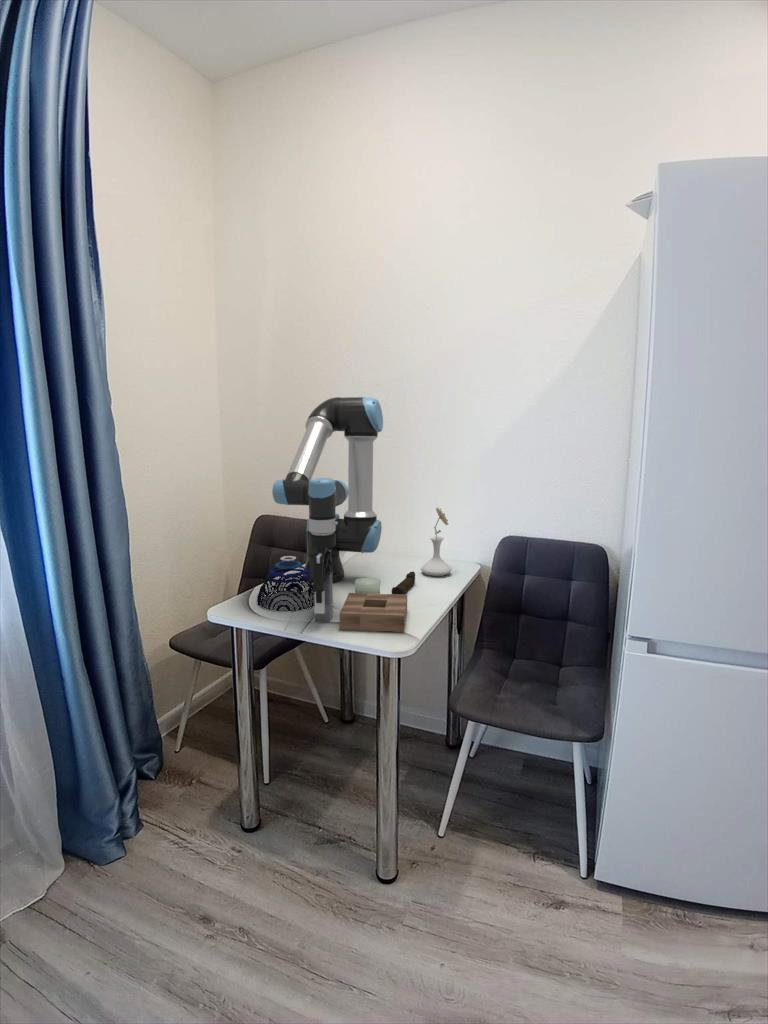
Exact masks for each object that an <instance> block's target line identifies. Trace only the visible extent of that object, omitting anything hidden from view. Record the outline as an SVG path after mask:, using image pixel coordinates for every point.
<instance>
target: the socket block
mask: <svg viewBox="0 0 768 1024" xmlns="http://www.w3.org/2000/svg"><path fill="white" fill-rule="evenodd" d="M407 615H408V594H405V593H404V594H392V593H380V594H374V593H355V592H348V594H347V597H346V599H345V600H344V603H343V605H342V607H341V609H340V611H339V631H347V630H348V631H349V632H351V631H352V632H353V631H354V632H373V631H394V632H393V633H399V632H404V633H405V630H404V629H406V623H407V622H406V621H407ZM405 622H406V623H405Z"/></svg>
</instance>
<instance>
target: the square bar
mask: <svg viewBox="0 0 768 1024" xmlns="http://www.w3.org/2000/svg"><path fill="white" fill-rule="evenodd" d="M333 587H334V586H333V583H332V571H325V579H324V591H325V613H324V614H321V613H315V612H314V622H315V623H317V622H318V623H331V622H330V621H332V620H331V619H333V617H334V611H333V609H334V608H333V607H334V606H333V605H334V604H333V603H334V600H333V598H334V597H333V595H334V593H333V592H334V591H333ZM313 597H314V601H313V602H314V604H315V592H314V596H313Z"/></svg>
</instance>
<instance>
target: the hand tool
mask: <svg viewBox="0 0 768 1024" xmlns="http://www.w3.org/2000/svg"><path fill="white" fill-rule="evenodd" d="M415 582H416V572H415V571H410V572H408V573H407V574H406V575H405V578H404V579H403V580H402V581H400V582H399V583H398V584H397V585H396V586H394V587H392V589H391V594H405V593H406V592H407V591H408V590H409V589H411V588H413V587H414V586H415V584H416V583H415Z"/></svg>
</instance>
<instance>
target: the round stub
mask: <svg viewBox="0 0 768 1024" xmlns="http://www.w3.org/2000/svg"><path fill="white" fill-rule="evenodd" d="M354 593H374V594H381V580H379V579H377V578H374V577H361V578H357V579H355V580H354Z"/></svg>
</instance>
